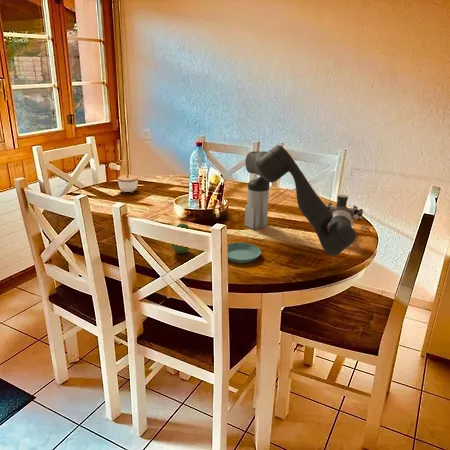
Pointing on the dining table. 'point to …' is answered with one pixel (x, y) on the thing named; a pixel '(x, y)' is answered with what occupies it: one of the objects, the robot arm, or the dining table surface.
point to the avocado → (180, 248)
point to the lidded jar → (128, 183)
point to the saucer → (242, 252)
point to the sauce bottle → (342, 200)
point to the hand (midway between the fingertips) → (342, 206)
